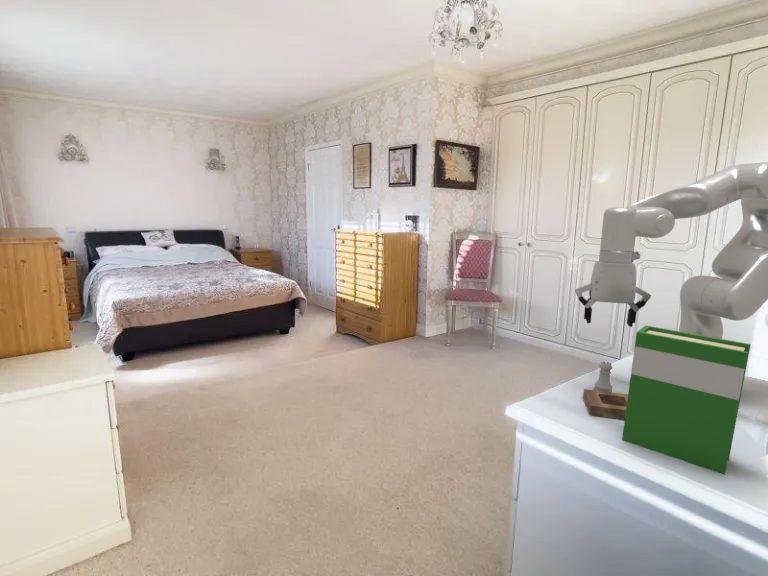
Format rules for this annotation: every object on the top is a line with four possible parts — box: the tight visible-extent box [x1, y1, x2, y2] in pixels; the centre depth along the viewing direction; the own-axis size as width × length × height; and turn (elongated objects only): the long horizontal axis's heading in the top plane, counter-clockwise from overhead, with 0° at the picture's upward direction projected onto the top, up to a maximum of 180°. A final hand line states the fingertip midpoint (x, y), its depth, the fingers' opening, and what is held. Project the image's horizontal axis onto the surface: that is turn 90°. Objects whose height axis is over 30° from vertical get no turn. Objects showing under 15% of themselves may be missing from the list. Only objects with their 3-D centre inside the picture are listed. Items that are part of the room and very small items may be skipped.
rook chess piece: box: [593, 361, 613, 393], centre depth 118 cm, size 4×4×8 cm
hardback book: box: [621, 325, 751, 476], centre depth 89 cm, size 18×7×24 cm, turn 47°
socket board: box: [582, 388, 628, 421], centre depth 108 cm, size 16×10×2 cm, turn 75°
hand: (608, 323), depth 113 cm, fingers open, 9 cm apart
